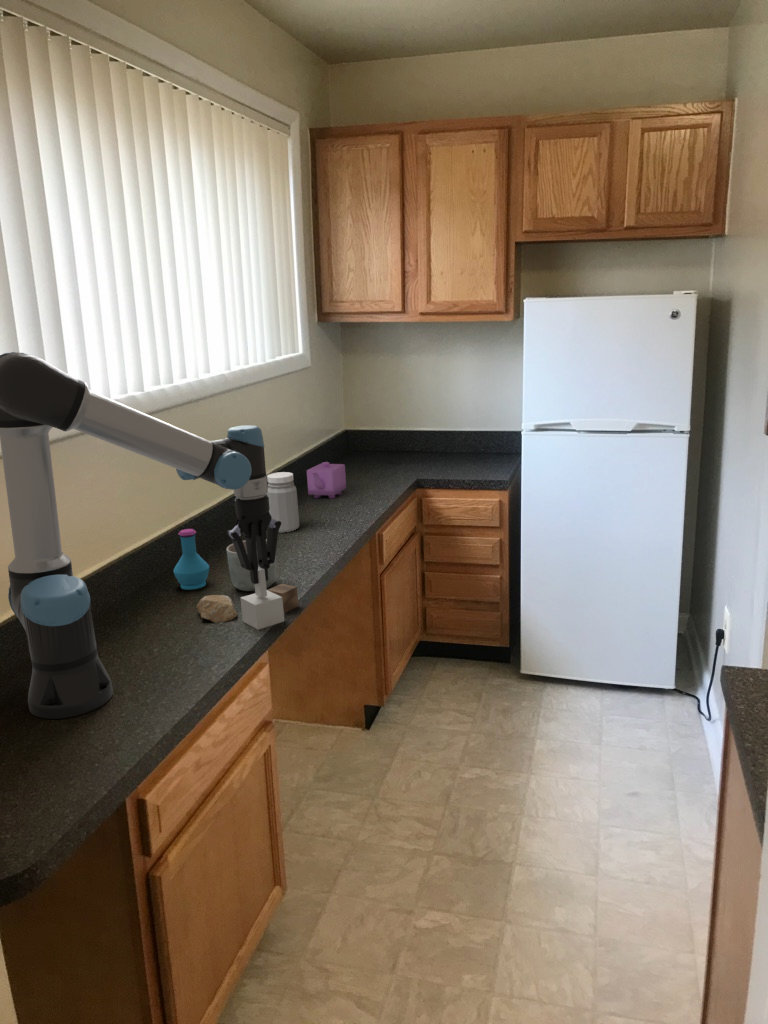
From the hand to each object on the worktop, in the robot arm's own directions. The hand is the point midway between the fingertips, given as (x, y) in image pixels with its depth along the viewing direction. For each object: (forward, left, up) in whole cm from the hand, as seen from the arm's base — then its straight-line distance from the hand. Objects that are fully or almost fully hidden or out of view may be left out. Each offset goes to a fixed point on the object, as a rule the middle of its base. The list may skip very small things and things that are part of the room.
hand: (261, 595), depth 193 cm
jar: (+46, +64, -7) cm, 79 cm away
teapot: (+81, +91, -7) cm, 122 cm away
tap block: (0, 0, -6) cm, 6 cm away
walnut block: (+8, +4, -6) cm, 11 cm away
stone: (-6, +11, -7) cm, 15 cm away
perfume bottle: (0, +36, -7) cm, 37 cm away
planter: (+11, +23, -7) cm, 26 cm away
